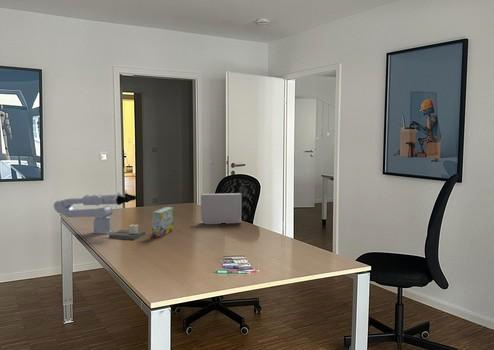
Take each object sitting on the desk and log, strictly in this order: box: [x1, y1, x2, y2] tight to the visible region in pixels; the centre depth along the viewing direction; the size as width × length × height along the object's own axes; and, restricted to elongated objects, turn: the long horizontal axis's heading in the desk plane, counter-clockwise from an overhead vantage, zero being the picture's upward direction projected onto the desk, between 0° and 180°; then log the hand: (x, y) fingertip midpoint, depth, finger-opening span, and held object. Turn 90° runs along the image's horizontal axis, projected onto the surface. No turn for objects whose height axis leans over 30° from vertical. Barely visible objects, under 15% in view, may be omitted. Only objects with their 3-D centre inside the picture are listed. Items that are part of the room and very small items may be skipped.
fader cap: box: [128, 224, 140, 234], centre depth 274 cm, size 4×4×5 cm
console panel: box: [108, 229, 146, 241], centre depth 276 cm, size 16×14×2 cm
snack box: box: [151, 206, 174, 239], centre depth 283 cm, size 21×6×15 cm, turn 168°
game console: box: [200, 192, 243, 225], centre depth 318 cm, size 6×27×20 cm, turn 104°
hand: (132, 198), depth 278 cm, fingers open, 7 cm apart
